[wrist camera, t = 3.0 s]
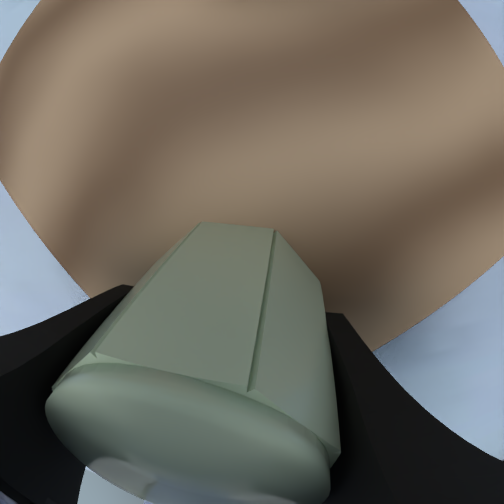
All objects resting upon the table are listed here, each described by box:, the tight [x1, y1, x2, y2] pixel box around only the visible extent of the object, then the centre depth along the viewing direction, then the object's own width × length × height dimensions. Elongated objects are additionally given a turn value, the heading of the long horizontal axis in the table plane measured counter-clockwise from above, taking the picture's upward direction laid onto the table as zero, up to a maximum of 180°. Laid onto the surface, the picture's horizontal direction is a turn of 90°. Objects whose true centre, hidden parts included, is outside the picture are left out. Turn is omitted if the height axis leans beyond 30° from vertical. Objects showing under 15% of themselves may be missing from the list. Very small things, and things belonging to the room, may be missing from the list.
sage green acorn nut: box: [45, 221, 341, 504], centre depth 7 cm, size 6×6×7 cm
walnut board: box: [0, 0, 504, 352], centre depth 8 cm, size 20×18×1 cm
